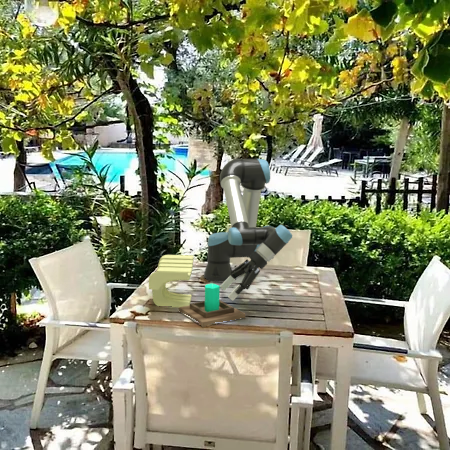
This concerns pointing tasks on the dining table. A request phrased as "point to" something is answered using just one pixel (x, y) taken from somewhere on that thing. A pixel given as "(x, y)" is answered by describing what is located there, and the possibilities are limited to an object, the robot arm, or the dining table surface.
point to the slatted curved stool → (167, 272)
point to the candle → (212, 297)
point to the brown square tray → (211, 313)
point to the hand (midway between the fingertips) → (225, 293)
